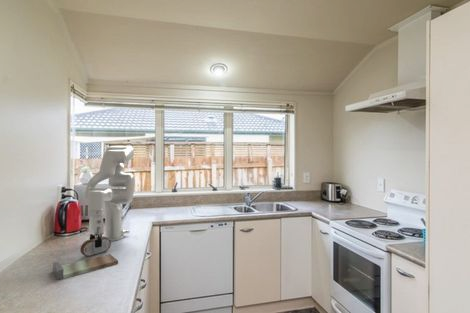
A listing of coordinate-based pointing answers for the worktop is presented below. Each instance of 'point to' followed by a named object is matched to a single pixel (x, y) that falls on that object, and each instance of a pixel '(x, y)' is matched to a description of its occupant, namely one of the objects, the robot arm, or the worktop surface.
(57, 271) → the bracket
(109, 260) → the mounting board
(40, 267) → the worktop surface
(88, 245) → the tin
